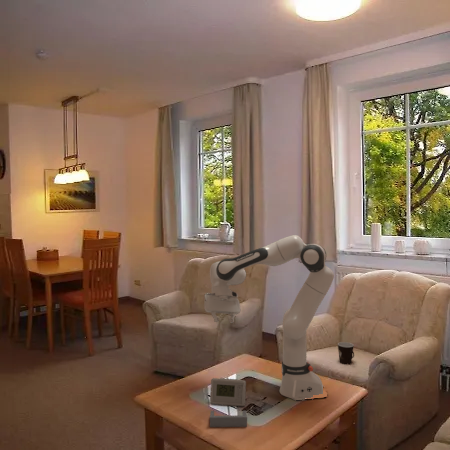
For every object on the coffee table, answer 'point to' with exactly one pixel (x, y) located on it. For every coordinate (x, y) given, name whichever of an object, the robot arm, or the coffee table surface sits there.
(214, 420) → the dock
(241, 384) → the digital clock
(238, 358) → the coffee table surface
